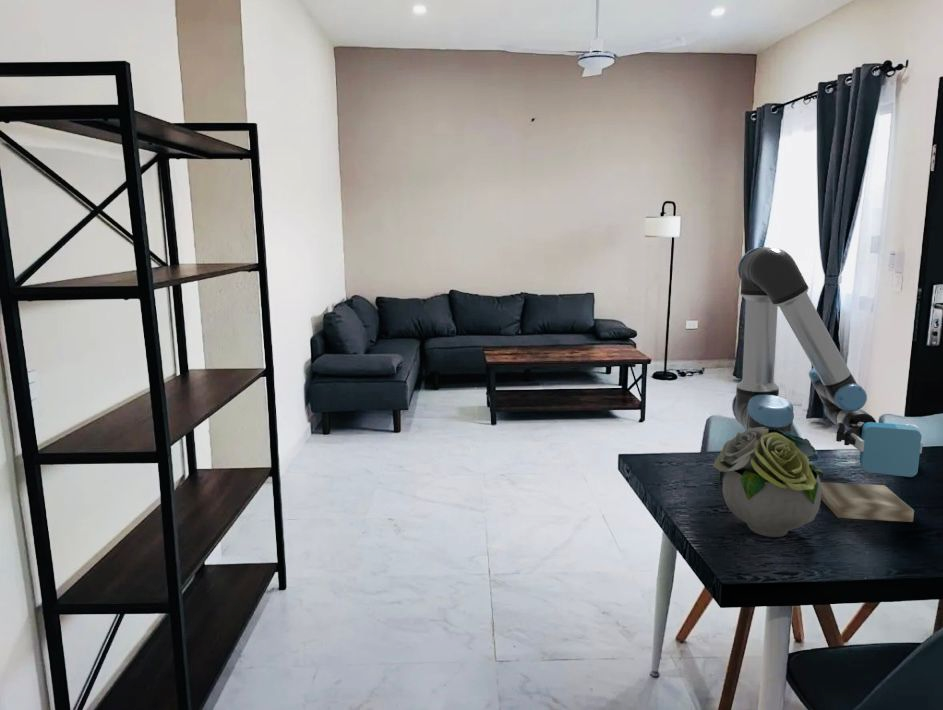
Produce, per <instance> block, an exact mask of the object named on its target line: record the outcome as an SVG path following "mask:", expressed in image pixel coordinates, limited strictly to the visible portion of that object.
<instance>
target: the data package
mask: <svg viewBox="0 0 943 710" xmlns="http://www.w3.org/2000/svg"><path fill="white" fill-rule="evenodd" d="M912 425H913V424H912ZM912 425H906V424H901V423H900V424H899V423H898V424H897V423H889V422H888V423H887V422H885V423H884V422H877V421H876V422H867V423H865V424H864V425H863V429H862V440H864V452H862V451H859V463H860V466H861V468H862V470H863V471H864V472H865V473H870V474H878V475H879V474H881V475H889V476H899V477H908V478H912V477H915V476H916V475H917V474H918V471H919V462H920V456H921V453H920V446H921V442H922V434H921V431H920V432H919V431H918V429H917V428H916V427H915V426H912Z"/></svg>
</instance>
